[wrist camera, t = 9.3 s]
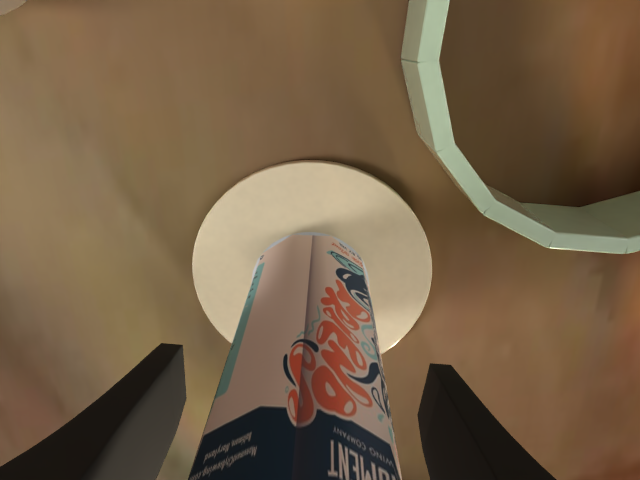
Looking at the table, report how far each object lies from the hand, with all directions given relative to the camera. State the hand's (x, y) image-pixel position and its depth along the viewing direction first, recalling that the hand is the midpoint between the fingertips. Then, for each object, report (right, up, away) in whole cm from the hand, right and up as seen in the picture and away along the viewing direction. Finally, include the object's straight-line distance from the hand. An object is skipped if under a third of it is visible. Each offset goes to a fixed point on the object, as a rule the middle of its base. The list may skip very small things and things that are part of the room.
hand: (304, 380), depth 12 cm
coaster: (0, +3, +6) cm, 6 cm away
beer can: (0, +3, +5) cm, 6 cm away
